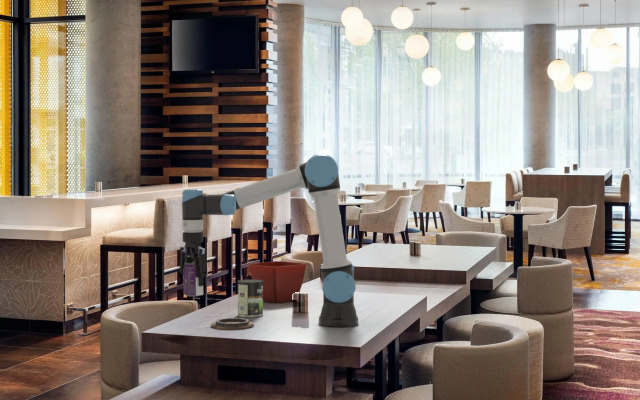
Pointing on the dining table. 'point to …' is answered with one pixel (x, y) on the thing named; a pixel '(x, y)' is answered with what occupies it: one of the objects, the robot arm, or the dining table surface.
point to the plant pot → (278, 279)
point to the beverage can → (190, 279)
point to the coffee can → (250, 298)
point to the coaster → (232, 324)
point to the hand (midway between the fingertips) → (193, 293)
